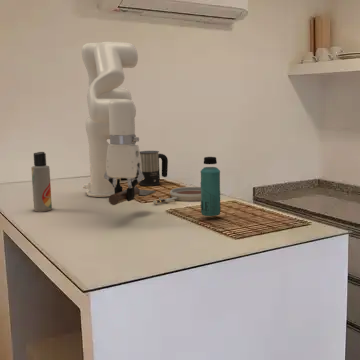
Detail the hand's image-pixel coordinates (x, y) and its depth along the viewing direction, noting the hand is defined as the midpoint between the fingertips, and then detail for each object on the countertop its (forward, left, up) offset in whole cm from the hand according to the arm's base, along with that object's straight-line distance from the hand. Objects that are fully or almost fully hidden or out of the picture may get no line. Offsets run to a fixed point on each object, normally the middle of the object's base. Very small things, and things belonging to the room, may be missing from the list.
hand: (124, 199), depth 152 cm
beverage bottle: (+24, +12, -7) cm, 28 cm away
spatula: (0, +5, 0) cm, 5 cm away
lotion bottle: (-35, +7, -7) cm, 37 cm away
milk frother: (-25, +68, -7) cm, 73 cm away
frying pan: (+3, +38, -7) cm, 39 cm away
